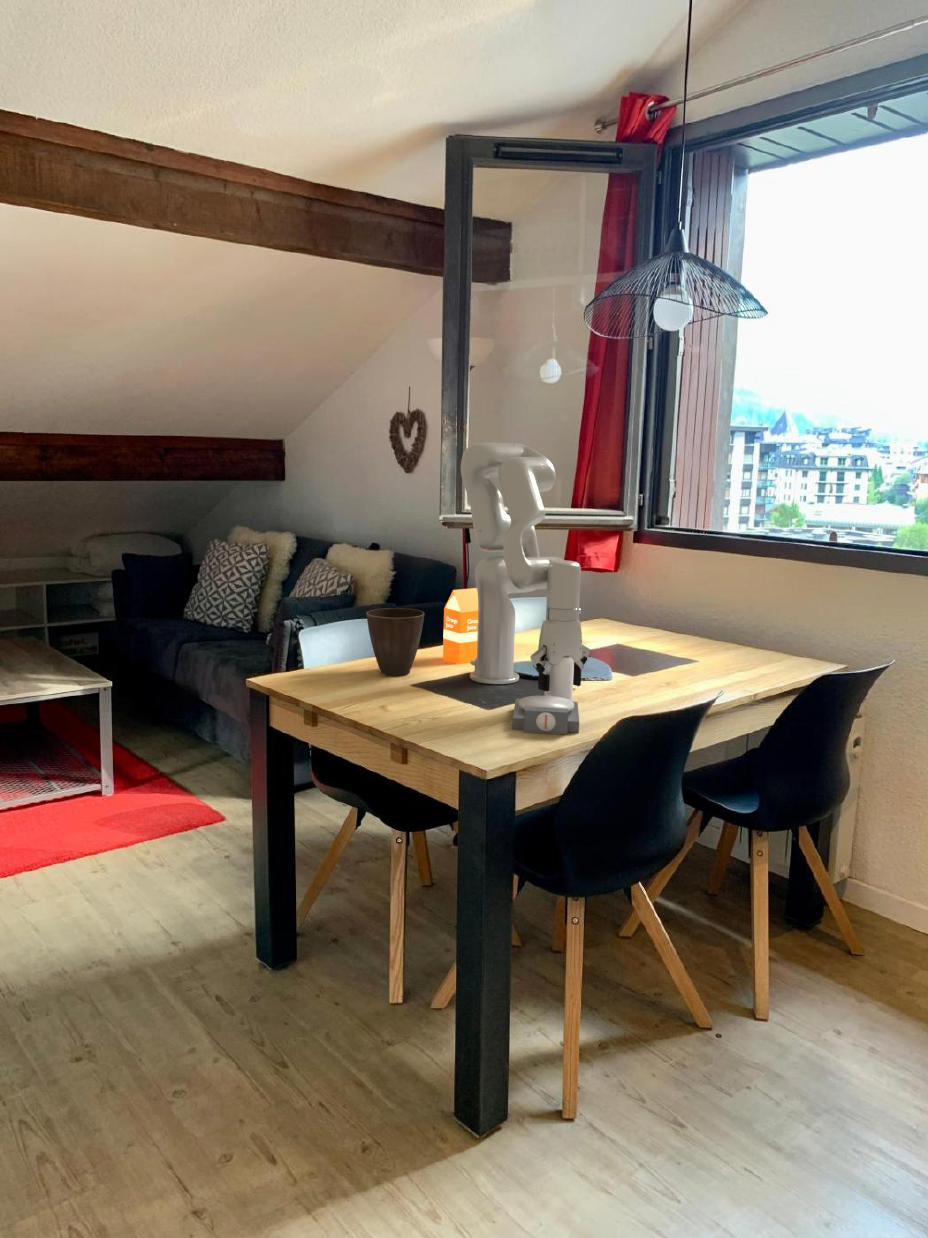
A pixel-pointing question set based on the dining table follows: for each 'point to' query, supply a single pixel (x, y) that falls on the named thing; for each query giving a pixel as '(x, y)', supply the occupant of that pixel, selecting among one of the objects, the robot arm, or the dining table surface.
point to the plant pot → (395, 638)
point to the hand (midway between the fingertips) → (559, 687)
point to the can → (561, 679)
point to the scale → (546, 715)
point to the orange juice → (461, 626)
